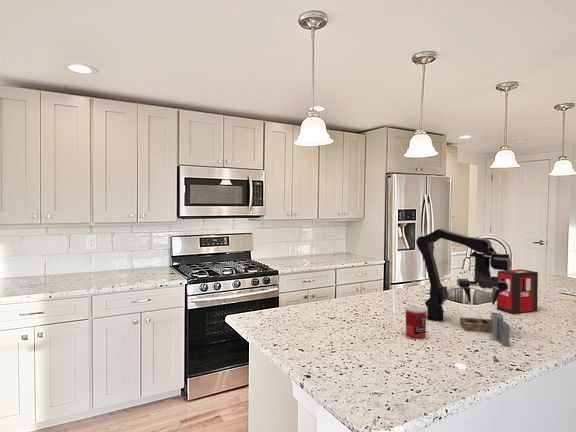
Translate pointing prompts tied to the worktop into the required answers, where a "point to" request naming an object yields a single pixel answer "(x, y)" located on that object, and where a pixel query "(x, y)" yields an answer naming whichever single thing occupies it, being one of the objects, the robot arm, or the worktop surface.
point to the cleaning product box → (518, 291)
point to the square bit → (495, 325)
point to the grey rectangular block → (503, 333)
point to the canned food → (415, 322)
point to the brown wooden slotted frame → (475, 324)
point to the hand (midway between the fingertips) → (481, 303)
